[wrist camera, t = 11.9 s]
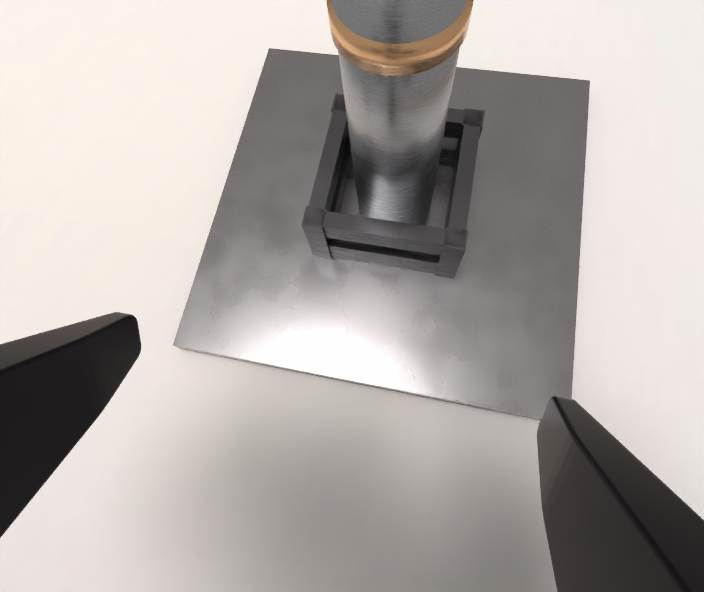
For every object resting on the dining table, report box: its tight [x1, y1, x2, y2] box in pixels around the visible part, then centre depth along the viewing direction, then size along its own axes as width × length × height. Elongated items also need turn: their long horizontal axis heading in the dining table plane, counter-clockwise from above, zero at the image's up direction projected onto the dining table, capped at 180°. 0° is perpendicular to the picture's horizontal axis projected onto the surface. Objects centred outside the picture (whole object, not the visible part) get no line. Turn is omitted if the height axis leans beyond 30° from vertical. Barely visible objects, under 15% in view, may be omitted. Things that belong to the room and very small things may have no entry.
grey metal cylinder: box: [327, 0, 473, 225], centre depth 18 cm, size 4×4×14 cm
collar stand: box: [173, 48, 590, 420], centre depth 23 cm, size 20×20×4 cm
